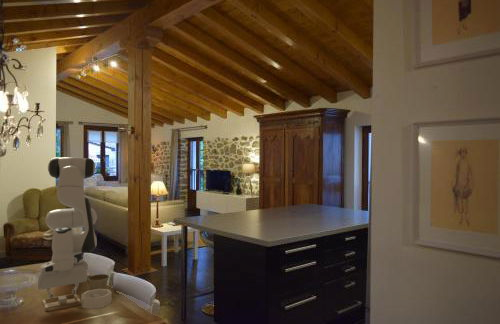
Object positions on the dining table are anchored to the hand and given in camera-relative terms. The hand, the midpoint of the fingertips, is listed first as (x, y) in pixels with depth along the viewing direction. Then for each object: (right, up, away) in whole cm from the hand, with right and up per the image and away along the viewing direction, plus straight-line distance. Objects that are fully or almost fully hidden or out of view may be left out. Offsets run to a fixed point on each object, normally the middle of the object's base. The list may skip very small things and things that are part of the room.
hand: (62, 295), depth 165 cm
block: (0, -5, 0) cm, 5 cm away
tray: (-2, -5, +3) cm, 6 cm away
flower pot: (+10, -6, +16) cm, 19 cm away
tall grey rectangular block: (+14, -5, +2) cm, 15 cm away
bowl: (+14, -5, +3) cm, 15 cm away
